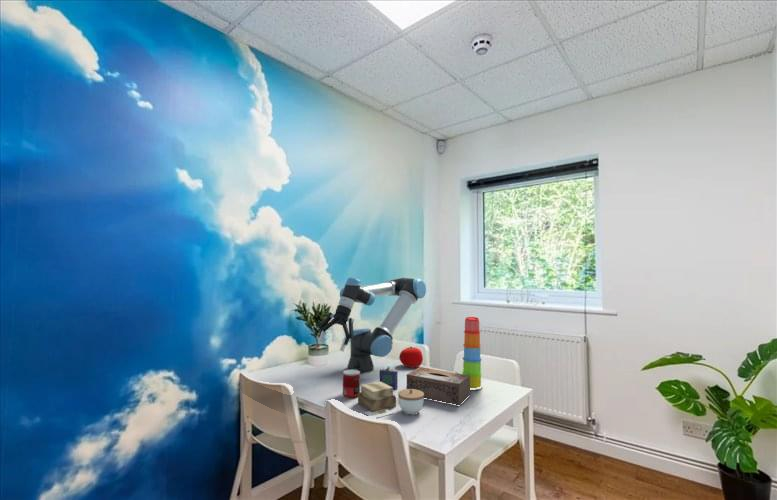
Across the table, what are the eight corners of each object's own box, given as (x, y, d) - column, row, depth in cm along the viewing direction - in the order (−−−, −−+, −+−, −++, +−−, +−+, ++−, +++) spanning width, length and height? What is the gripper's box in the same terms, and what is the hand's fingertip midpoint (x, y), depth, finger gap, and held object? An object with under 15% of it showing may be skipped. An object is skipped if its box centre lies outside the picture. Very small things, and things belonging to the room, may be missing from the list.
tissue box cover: (406, 395, 173) (406, 374, 173) (420, 386, 185) (420, 366, 185) (459, 407, 159) (459, 383, 160) (470, 396, 172) (470, 375, 172)
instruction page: (384, 407, 157) (384, 407, 157) (393, 413, 152) (393, 412, 152) (363, 413, 152) (363, 412, 152) (372, 419, 146) (372, 418, 146)
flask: (398, 388, 182) (398, 366, 182) (396, 390, 179) (396, 368, 179) (380, 386, 185) (380, 364, 185) (378, 388, 182) (378, 366, 182)
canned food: (357, 399, 167) (357, 374, 167) (340, 397, 169) (340, 373, 169) (361, 393, 175) (362, 369, 175) (345, 392, 176) (345, 368, 177)
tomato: (419, 370, 212) (419, 350, 212) (397, 368, 217) (397, 348, 217) (425, 365, 223) (425, 346, 224) (403, 362, 228) (403, 344, 229)
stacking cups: (486, 387, 185) (485, 317, 186) (475, 392, 177) (475, 319, 178) (468, 382, 192) (468, 315, 193) (457, 387, 184) (457, 317, 185)
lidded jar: (396, 407, 158) (396, 385, 159) (421, 406, 159) (421, 384, 159) (399, 417, 148) (399, 394, 148) (426, 417, 148) (426, 393, 149)
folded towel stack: (381, 397, 169) (381, 380, 169) (396, 406, 159) (396, 387, 159) (357, 403, 162) (357, 384, 163) (372, 412, 152) (372, 393, 152)
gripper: (321, 299, 192) (306, 339, 185) (362, 309, 181) (347, 352, 174) (329, 304, 198) (314, 342, 192) (368, 314, 187) (354, 355, 180)
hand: (330, 347), depth 183 cm, fingers open, 13 cm apart
